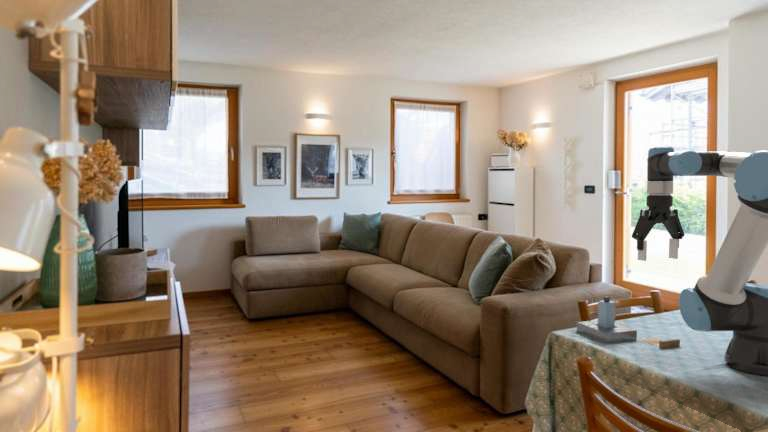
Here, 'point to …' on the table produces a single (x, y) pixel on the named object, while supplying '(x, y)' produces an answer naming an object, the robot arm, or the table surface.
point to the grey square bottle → (606, 313)
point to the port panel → (607, 332)
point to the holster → (662, 342)
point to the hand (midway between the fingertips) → (657, 259)
